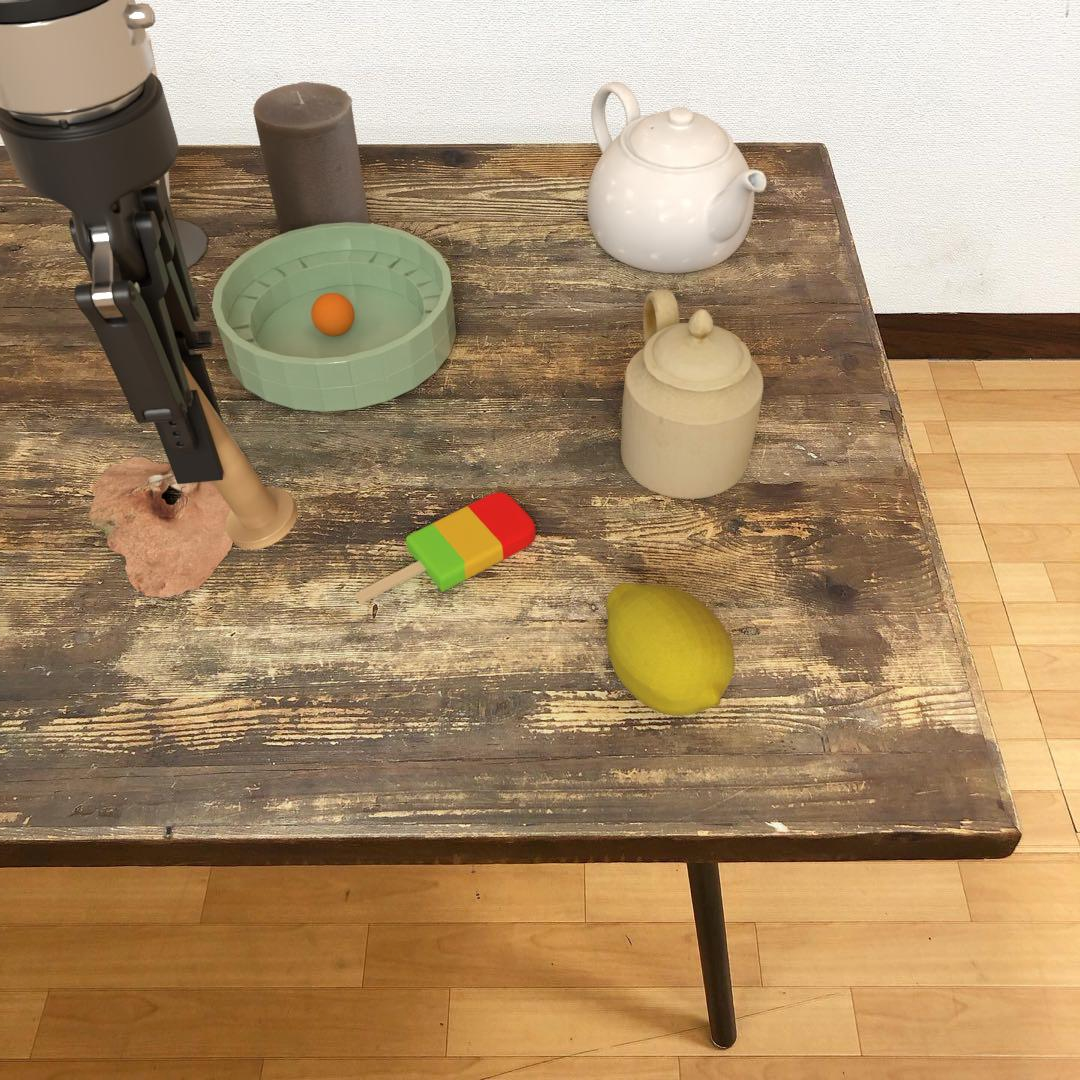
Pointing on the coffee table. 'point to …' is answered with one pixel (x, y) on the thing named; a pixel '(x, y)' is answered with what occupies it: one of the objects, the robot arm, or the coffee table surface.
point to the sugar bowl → (688, 404)
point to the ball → (332, 314)
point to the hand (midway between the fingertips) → (202, 458)
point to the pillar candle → (311, 155)
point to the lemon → (668, 648)
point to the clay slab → (161, 526)
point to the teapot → (668, 188)
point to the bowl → (375, 336)
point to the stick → (246, 489)
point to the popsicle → (463, 544)
